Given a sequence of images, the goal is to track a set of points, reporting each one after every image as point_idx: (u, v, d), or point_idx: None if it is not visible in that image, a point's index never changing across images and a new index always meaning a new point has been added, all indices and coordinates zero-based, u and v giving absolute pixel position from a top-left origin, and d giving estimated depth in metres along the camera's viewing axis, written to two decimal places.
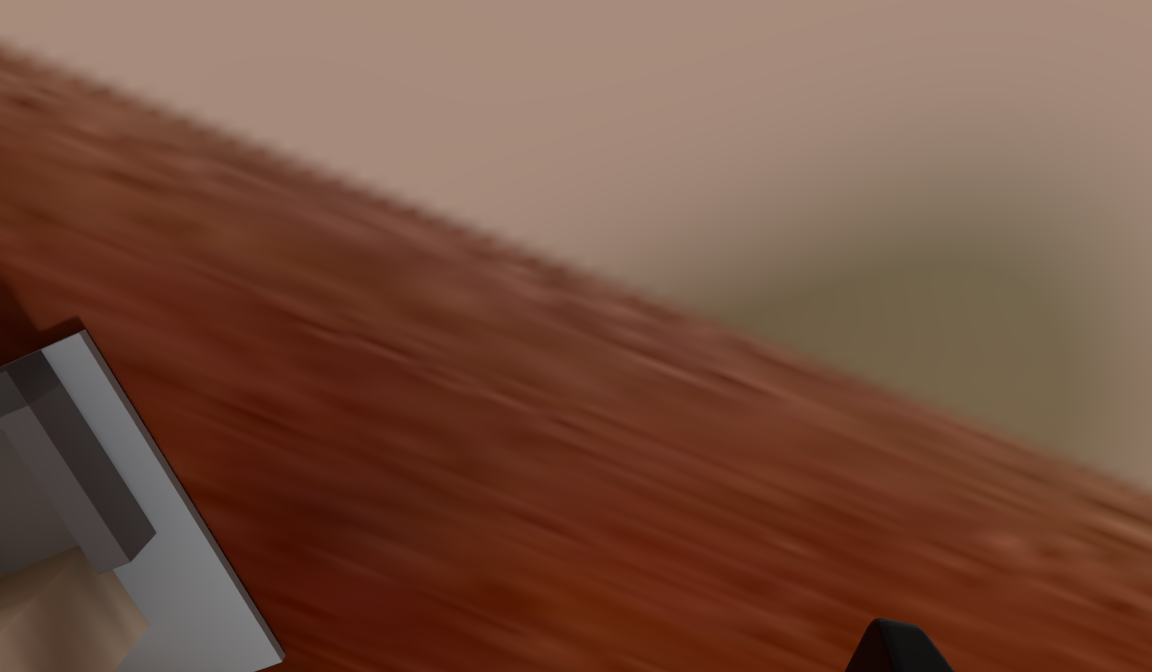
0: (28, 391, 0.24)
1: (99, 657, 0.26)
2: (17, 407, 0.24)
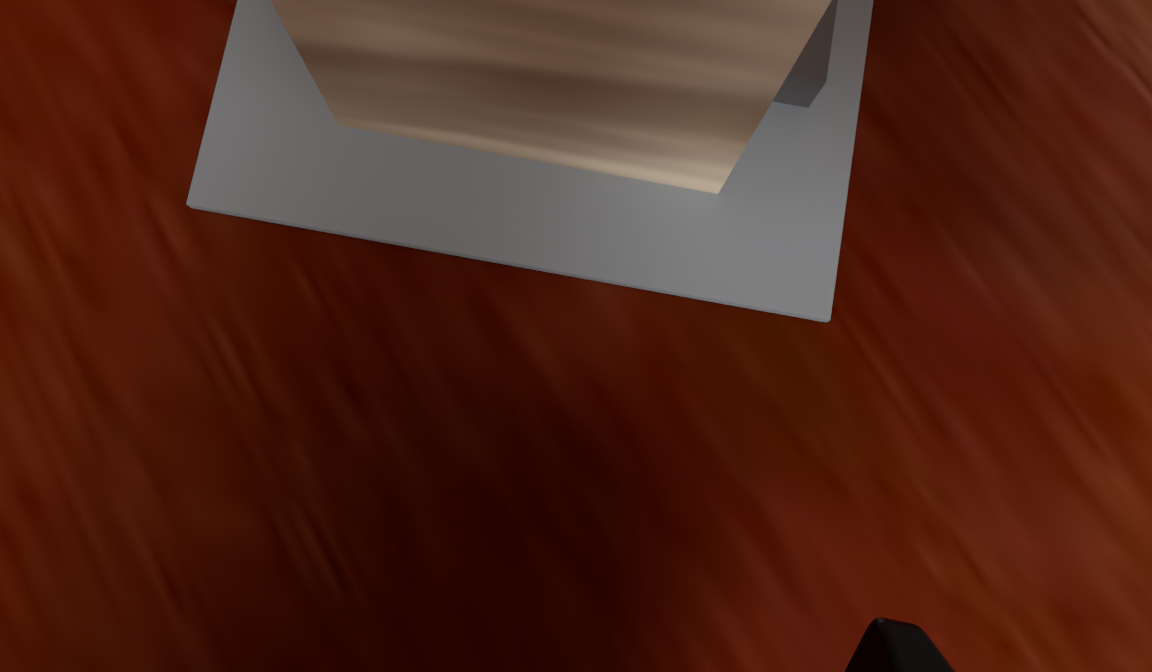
0: None
1: None
2: None
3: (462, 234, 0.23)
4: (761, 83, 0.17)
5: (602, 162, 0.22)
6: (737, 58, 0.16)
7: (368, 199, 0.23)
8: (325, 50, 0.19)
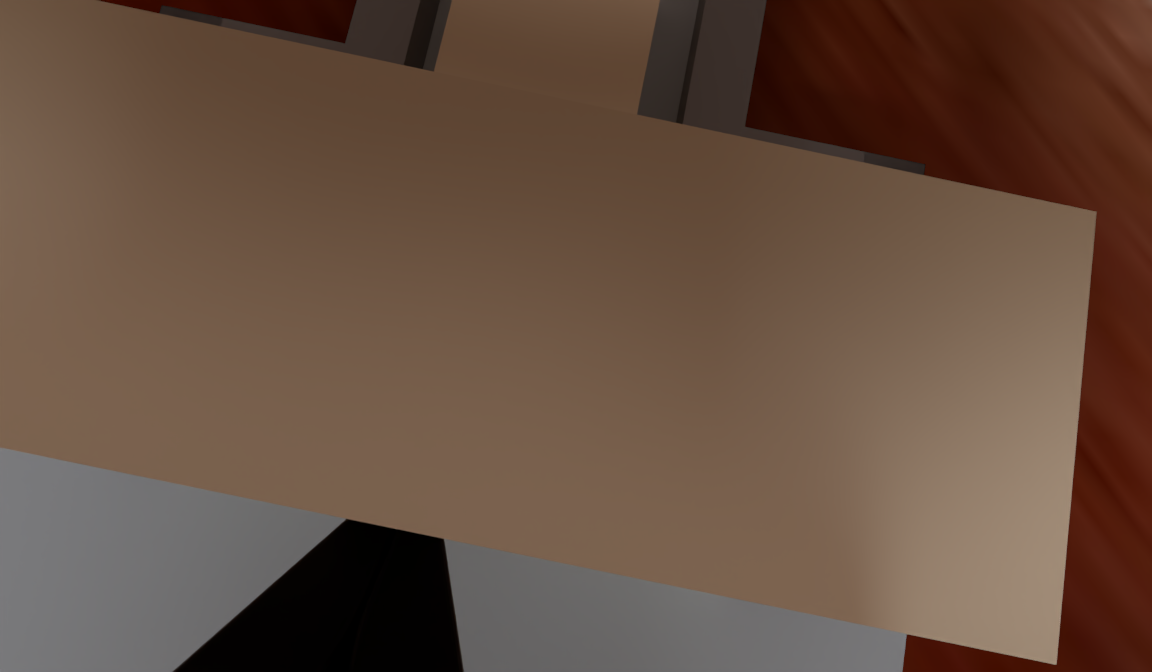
0: None
1: None
2: None
3: None
4: None
5: None
6: None
7: None
8: None
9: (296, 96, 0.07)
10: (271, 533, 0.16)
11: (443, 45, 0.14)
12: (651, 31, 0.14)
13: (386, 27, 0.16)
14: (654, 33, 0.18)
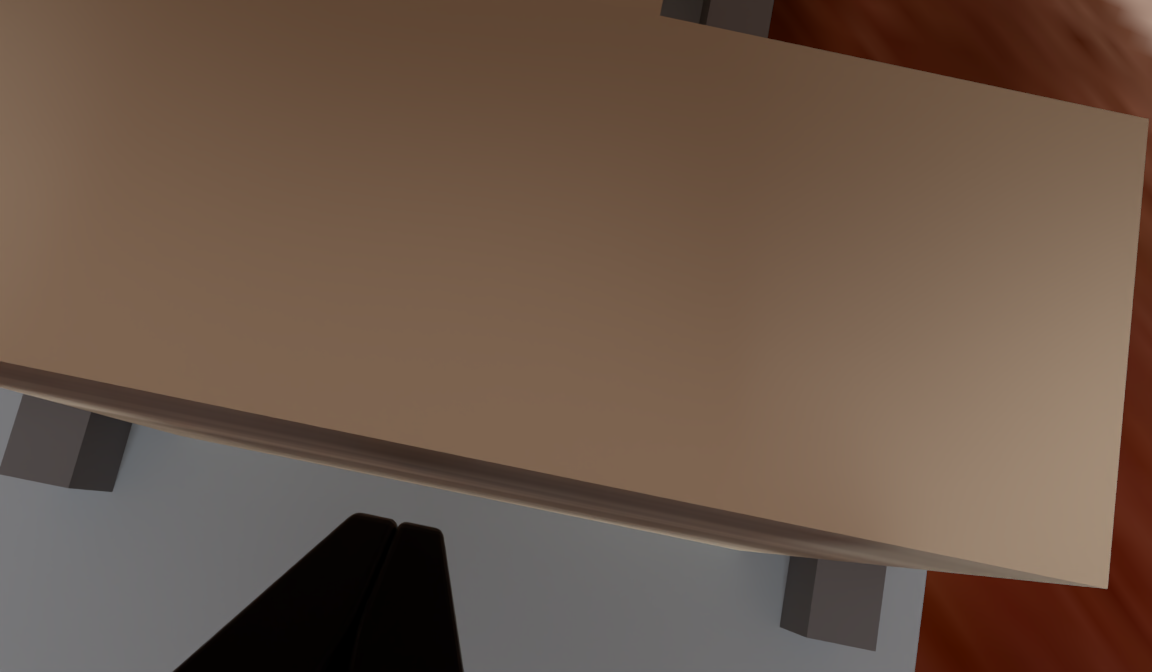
0: None
1: None
2: None
3: None
4: (839, 557, 0.10)
5: (568, 514, 0.15)
6: (804, 547, 0.09)
7: None
8: (108, 413, 0.11)
9: None
10: None
11: None
12: None
13: None
14: None
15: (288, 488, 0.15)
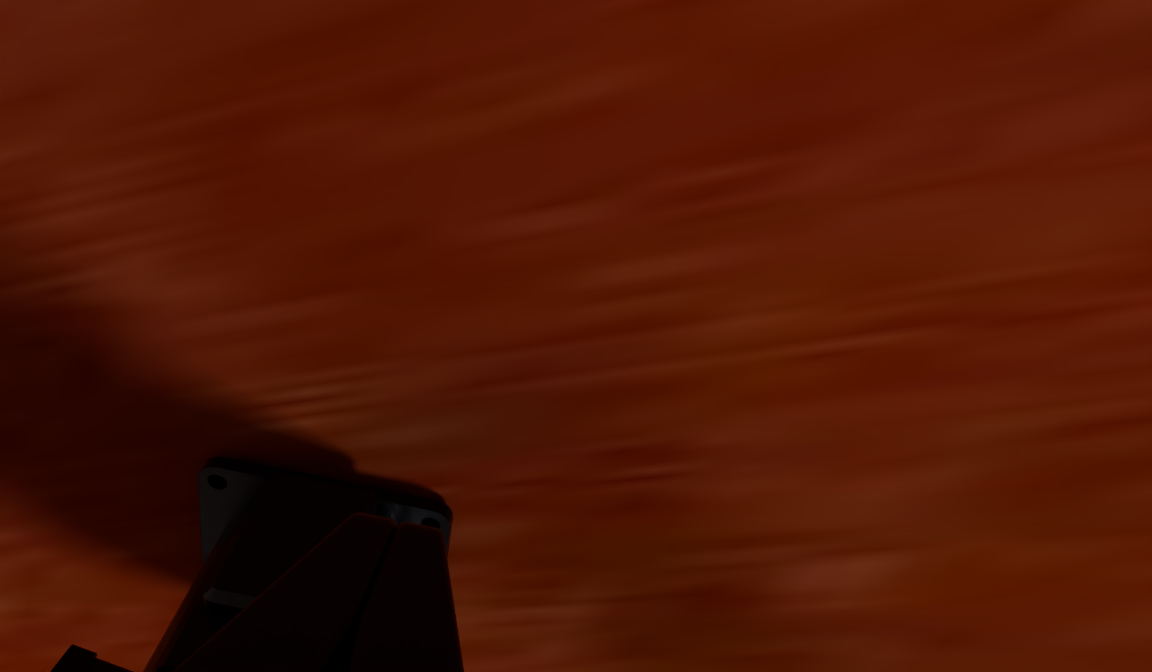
0: None
1: None
2: None
3: None
4: None
5: None
6: None
7: None
8: None
9: None
10: None
11: None
12: None
13: None
14: None
15: None
